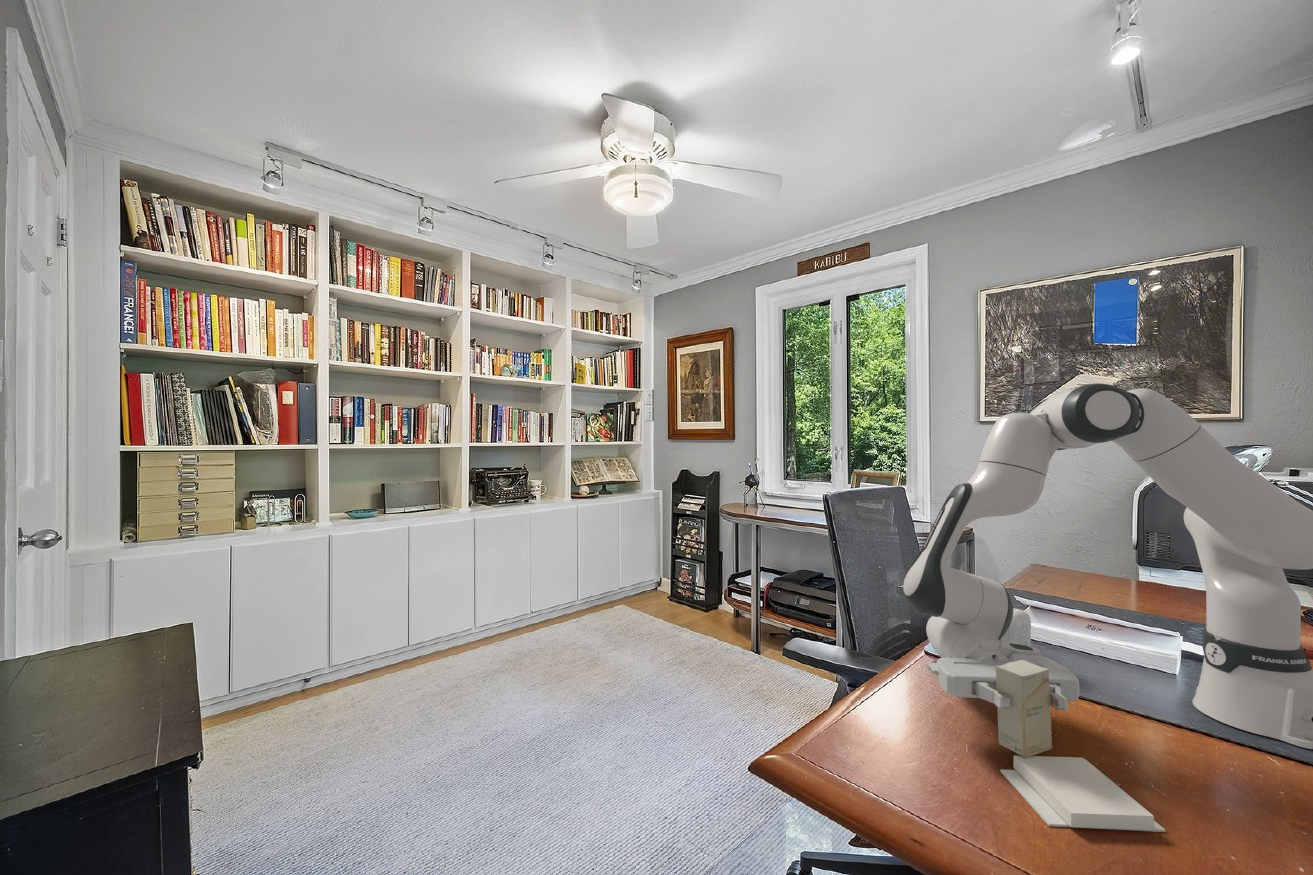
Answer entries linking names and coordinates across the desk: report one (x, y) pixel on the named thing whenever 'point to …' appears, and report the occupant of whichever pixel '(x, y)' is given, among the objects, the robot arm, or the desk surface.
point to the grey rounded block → (1019, 629)
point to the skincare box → (1024, 708)
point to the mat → (1043, 807)
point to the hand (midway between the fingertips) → (1034, 704)
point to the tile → (1082, 793)
